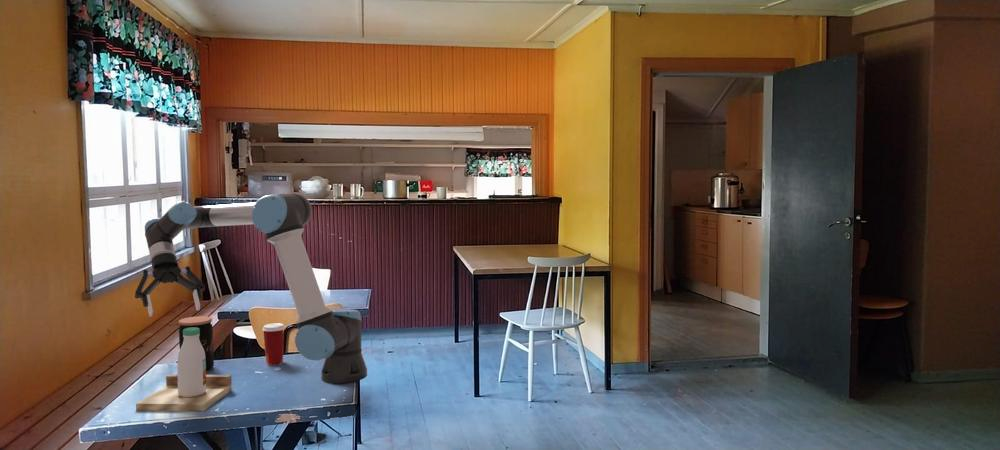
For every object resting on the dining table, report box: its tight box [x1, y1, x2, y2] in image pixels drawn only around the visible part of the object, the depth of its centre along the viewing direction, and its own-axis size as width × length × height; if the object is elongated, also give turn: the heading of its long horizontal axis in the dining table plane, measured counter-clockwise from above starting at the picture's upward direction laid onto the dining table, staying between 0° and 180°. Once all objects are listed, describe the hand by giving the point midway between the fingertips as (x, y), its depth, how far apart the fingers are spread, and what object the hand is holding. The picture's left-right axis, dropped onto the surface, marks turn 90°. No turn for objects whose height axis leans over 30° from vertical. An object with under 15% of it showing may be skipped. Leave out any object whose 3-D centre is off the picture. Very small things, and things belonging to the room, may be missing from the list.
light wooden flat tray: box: [135, 373, 233, 412], centre depth 195 cm, size 20×18×5 cm
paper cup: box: [262, 322, 286, 366], centre depth 233 cm, size 8×8×14 cm
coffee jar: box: [178, 315, 215, 373], centre depth 225 cm, size 11×11×18 cm
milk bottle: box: [177, 327, 207, 397], centre depth 194 cm, size 8×8×20 cm
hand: (175, 311), depth 202 cm, fingers open, 13 cm apart
